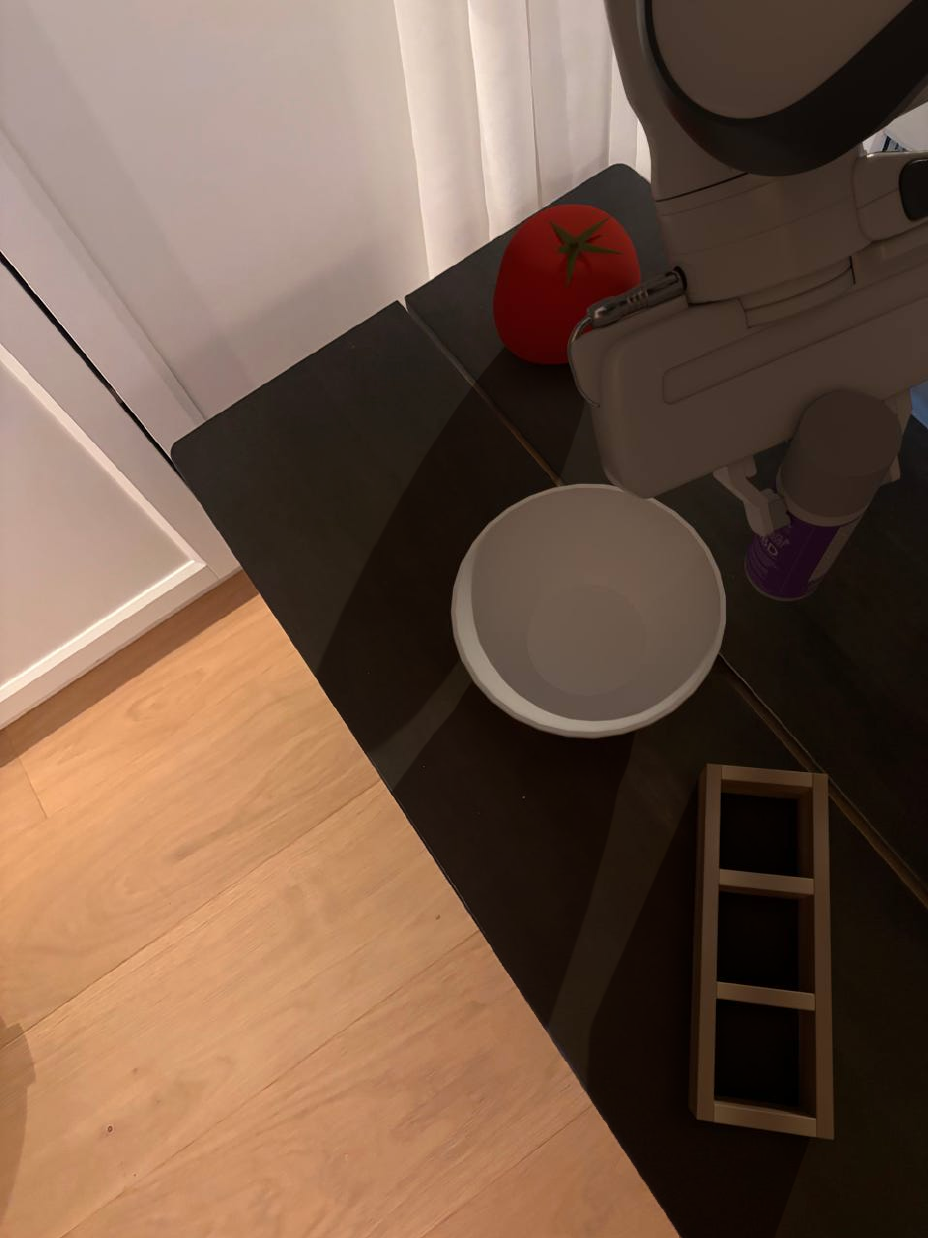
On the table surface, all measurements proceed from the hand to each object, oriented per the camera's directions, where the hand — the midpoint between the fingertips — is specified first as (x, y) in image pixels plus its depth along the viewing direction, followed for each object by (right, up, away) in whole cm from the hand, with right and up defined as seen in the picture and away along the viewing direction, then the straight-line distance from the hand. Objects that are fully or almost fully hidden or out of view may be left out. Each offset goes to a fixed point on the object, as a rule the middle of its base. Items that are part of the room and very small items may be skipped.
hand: (825, 505), depth 47 cm
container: (+1, -3, +9) cm, 9 cm away
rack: (+1, -28, +17) cm, 33 cm away
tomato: (-9, +21, +37) cm, 43 cm away
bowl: (-9, -8, +26) cm, 28 cm away
